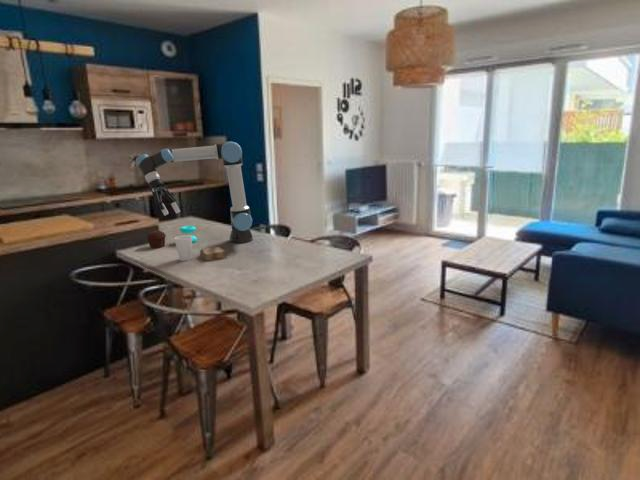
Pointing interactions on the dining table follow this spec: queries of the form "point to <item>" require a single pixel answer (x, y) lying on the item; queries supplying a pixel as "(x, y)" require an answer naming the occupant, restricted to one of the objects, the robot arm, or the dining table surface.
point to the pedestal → (212, 253)
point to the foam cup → (184, 247)
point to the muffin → (156, 239)
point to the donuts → (189, 231)
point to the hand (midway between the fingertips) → (172, 213)
